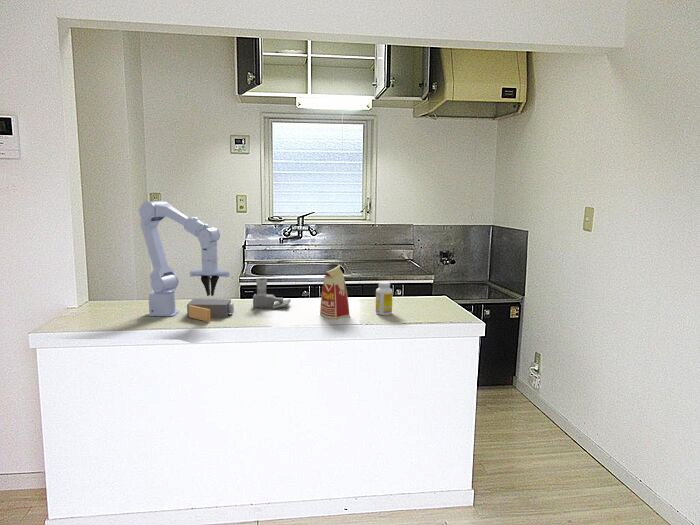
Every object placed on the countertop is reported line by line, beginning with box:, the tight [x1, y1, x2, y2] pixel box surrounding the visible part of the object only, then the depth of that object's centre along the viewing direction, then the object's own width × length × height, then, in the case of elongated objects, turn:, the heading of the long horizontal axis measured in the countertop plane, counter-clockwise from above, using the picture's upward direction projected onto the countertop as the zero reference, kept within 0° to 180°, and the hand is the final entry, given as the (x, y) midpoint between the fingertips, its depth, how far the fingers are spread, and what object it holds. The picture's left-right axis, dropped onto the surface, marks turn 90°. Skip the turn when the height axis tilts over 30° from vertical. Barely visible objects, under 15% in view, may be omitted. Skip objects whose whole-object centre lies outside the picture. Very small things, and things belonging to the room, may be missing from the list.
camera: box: [252, 277, 291, 310], centre depth 221 cm, size 9×12×15 cm
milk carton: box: [319, 264, 351, 320], centre depth 208 cm, size 9×9×20 cm
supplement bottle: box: [375, 280, 393, 316], centre depth 214 cm, size 7×7×13 cm
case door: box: [187, 305, 211, 323], centre depth 200 cm, size 12×1×5 cm, turn 57°
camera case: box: [186, 298, 235, 318], centre depth 209 cm, size 17×9×5 cm, turn 92°
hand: (210, 295), depth 200 cm, fingers closed
